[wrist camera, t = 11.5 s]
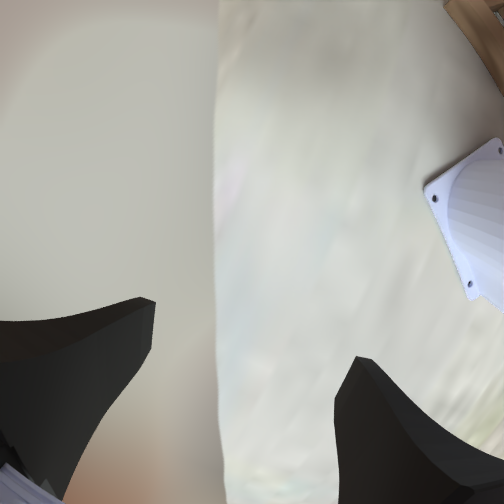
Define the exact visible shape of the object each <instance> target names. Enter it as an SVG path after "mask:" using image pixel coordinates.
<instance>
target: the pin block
mask: <svg viewBox="0 0 504 504" xmlns="http://www.w3.org/2000/svg"><path fill="white" fill-rule="evenodd" d="M443 8H444V9H445V10H446V11H447V12H448V14H449V15H450V16H451V17H452V19H453V20H454V21H455V22H456V24H457V25H458V26H459V28H460V29H461V30H462V32H463V33H464V34H465V36H466V37H467V39H468V40H469V41H470V43H471V44H472V46H473V47H474V49H475V50H476V52H477V53H478V55H479V56H480V58H481V59H482V61H483V62H484V64H485V66H486V67H487V69H488V71H489V72H490V74H491V76H492V77H493V79H494V81H495V82H496V84H497V86H498V88H499V90H500V91H501V93H502V95H503V97H504V27H503V26H502V24H501V23H500V22H499V20H498V19H497V17H496V16H495V15H494V13H493V12H496V11H498V13H499V14H500V15H501V17H502V18H503V19H504V0H450V1H449V2H448V3H447V4H446V5H445V6H444V7H443Z"/></svg>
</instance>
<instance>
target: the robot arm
mask: <svg viewBox="0 0 504 504" xmlns="http://www.w3.org/2000/svg"><path fill="white" fill-rule="evenodd" d="M498 149H500V153H499V151H498ZM433 195H435V196H436V201H435V202H433V201H432V197H433ZM424 196H425V198H426V200H427V202H428V204H429V206H430V208H431V210H432V212H433V214H434V216H435V218H436V220H437V223H438V225H439V227H440V229H441V231H442V234H443V236H444V238H445V241H446V243H447V245H448V248H449V250H450V253H451V255H452V258H453V260H454V263H455V265H456V268H457V271H458V273H459V276H460V279H461V281H462V284H463V287H464V290H465V293H466V296H467V298H468V299H469V300H471V301H473V300H475V299H476V298H478V297H479V296H480V295H481V296H483V297H484V298H485V299H486V300H488V301H489V302H490V303H491V304H493V305H494V306H495V307H496V308H497V309H499V310H500V311H501V312H502V313H503V314H504V146H503V144H502V142H501V140H500V139H499V138H492V139H491V140H490V141H488V142H487V143H485V144H484V145H483V146H481V147H480V148H479V149H477V150H476V151H474V152H473V153H472V154H470V155H469V156H467V157H466V158H465V159H463V160H462V161H460V162H459V163H457V164H456V165H455V166H453V167H452V168H450V169H449V170H447V171H446V172H445V173H443V174H442V175H440V176H439V177H437V178H436V179H434V180H433V181H431V182H430V183H429V184H427V185H426V186H425V187H424ZM469 281H471V282H470V284H469V285H468V282H469ZM155 305H156V302H154V301H151V300H148V299H145V298H143V297H138V298H133V299H129V300H126V301H123V302H119V303H116V304H113V305H110V306H106V307H103V308H100V309H96V310H92V311H88V312H84V313H80V314H76V315H72V316H67V317H61V318H55V319H47V320H36V321H0V504H65V503H64V502H62V500H63V497H64V494H65V492H66V489H67V487H68V485H69V482H70V480H71V477H72V475H73V473H74V471H75V468H76V466H77V464H78V462H79V460H80V458H81V455H82V454H83V452H84V450H85V448H86V446H87V444H88V442H89V440H90V439H91V437H92V435H93V433H94V431H95V430H96V428H97V426H98V424H99V423H100V421H101V419H102V418H103V416H104V415H105V413H106V412H107V410H108V409H109V407H110V406H111V405H112V404H113V402H114V401H115V400H116V399H117V397H118V396H119V395H120V394H121V392H122V391H123V390H124V388H125V387H126V386H127V385H128V383H129V382H130V381H131V379H132V378H133V377H134V376H135V374H136V373H137V372H138V370H139V369H140V367H141V366H142V364H143V362H144V361H145V359H146V357H147V355H148V353H149V351H150V350H151V345H152V334H153V323H154V314H155ZM334 427H335V437H336V446H337V455H338V465H339V500H338V504H504V460H502V459H500V458H497V457H494V456H491V455H489V454H487V453H485V452H483V451H481V450H479V449H476V448H474V447H473V446H471V445H469V444H467V443H465V442H464V441H462V440H461V439H459V438H457V437H456V436H454V435H453V434H451V433H450V432H448V431H447V430H445V429H444V428H443V427H441V426H440V425H439V424H438V423H436V422H435V421H434V420H433V419H431V418H430V417H429V416H428V415H427V414H425V413H424V412H423V411H422V410H421V409H420V408H419V407H418V406H417V405H416V404H415V403H414V402H413V401H412V400H411V399H410V398H409V397H408V396H407V395H406V394H405V393H404V392H403V391H402V390H401V389H400V388H399V387H398V386H397V385H396V384H395V383H394V382H393V381H392V379H391V378H390V377H389V376H388V375H387V374H386V373H385V372H384V371H383V370H382V369H381V368H380V367H379V366H378V365H377V364H376V363H375V362H374V361H373V360H372V359H368V358H363V357H358V356H356V357H355V359H354V361H353V363H352V365H351V367H350V369H349V371H348V373H347V375H346V377H345V379H344V381H343V383H342V385H341V387H340V389H339V391H338V393H337V395H336V397H335V402H334Z"/></svg>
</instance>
